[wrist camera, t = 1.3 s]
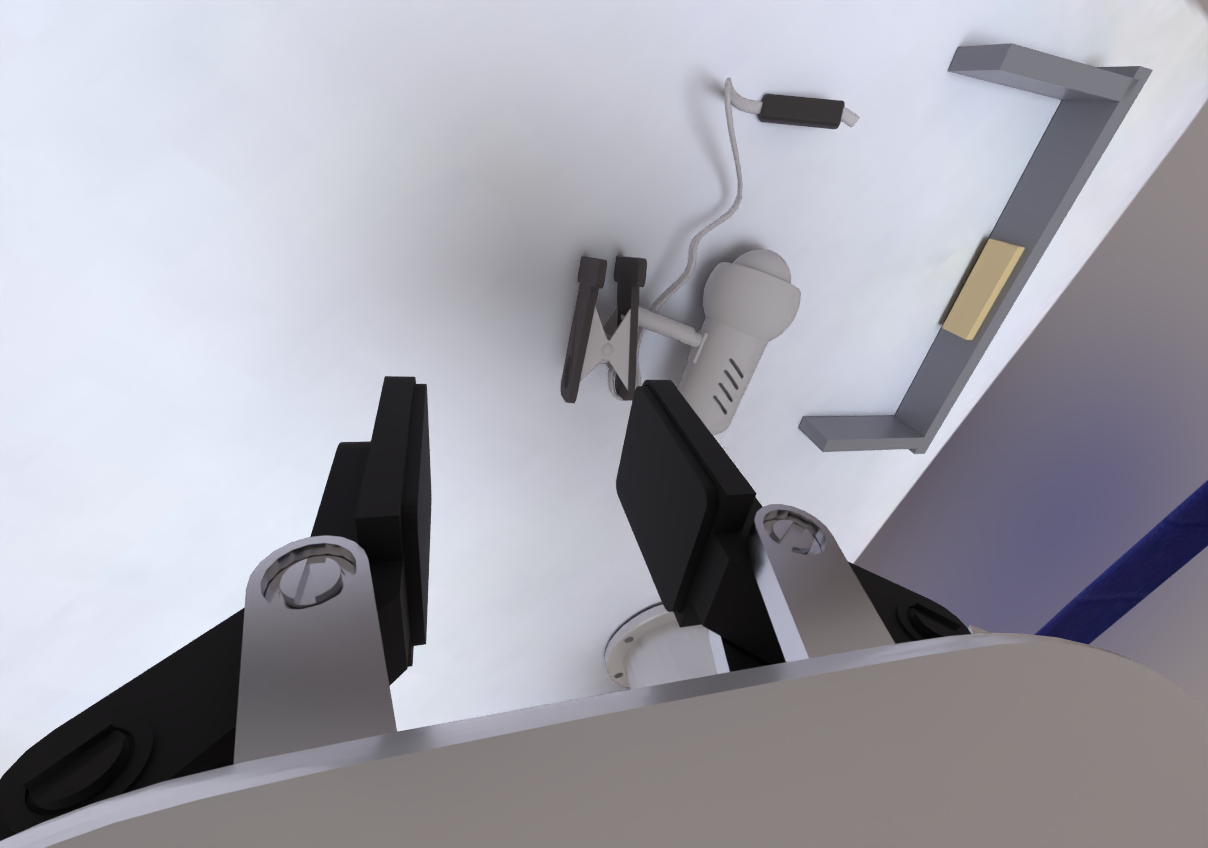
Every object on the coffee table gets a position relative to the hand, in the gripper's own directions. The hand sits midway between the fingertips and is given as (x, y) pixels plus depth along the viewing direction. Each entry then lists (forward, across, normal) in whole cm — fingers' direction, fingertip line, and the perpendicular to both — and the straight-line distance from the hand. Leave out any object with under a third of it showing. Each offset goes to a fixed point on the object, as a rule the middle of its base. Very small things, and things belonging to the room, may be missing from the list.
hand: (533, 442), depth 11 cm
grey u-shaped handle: (+17, -28, 0) cm, 33 cm away
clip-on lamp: (+18, -11, 0) cm, 21 cm away
